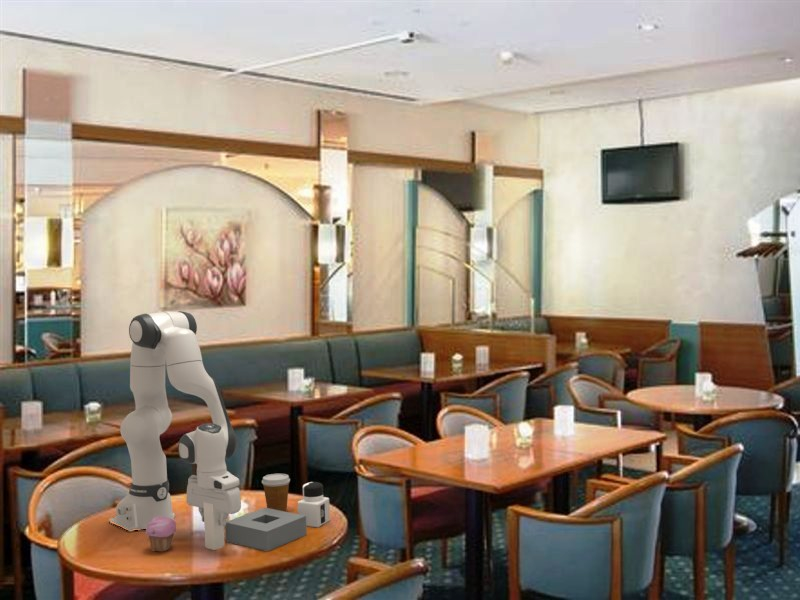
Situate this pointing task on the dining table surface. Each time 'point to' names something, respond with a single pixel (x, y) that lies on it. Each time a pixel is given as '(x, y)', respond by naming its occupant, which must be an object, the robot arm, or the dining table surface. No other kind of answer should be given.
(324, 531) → the dining table surface
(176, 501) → the dining table surface
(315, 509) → the container
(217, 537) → the peg
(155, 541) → the cupcake
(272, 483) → the disposable coffee cup
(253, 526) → the well block
